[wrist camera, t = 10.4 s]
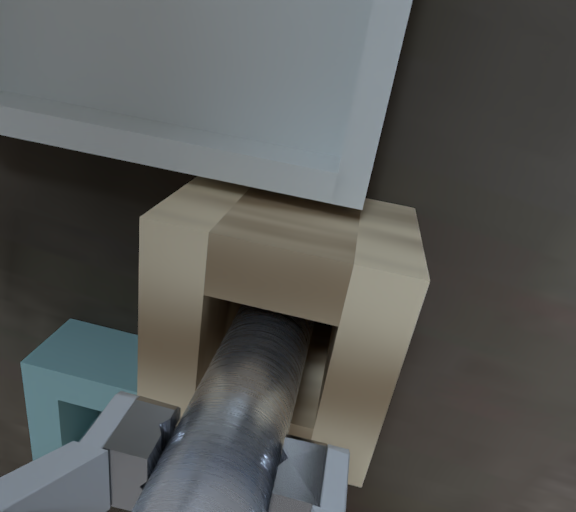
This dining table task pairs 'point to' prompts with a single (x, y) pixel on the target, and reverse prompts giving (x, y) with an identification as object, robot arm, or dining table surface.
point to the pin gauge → (234, 420)
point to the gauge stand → (75, 381)
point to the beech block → (283, 298)
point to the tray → (208, 86)
